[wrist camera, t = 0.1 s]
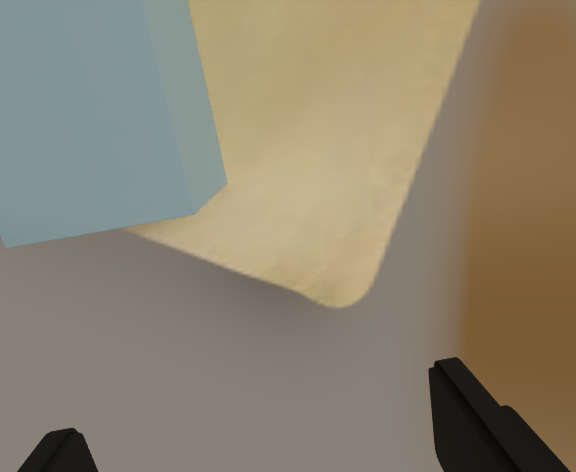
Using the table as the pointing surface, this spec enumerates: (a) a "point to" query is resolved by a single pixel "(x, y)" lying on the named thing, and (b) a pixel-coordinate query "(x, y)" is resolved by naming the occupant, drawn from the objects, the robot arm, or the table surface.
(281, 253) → the table surface
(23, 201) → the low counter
